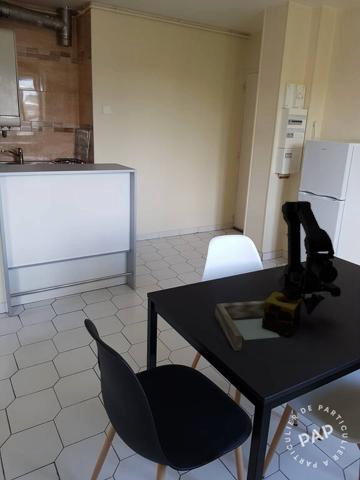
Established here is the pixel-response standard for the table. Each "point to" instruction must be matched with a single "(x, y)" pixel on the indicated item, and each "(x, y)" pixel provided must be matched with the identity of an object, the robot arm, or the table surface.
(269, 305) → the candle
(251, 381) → the table surface
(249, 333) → the mat
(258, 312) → the arena
